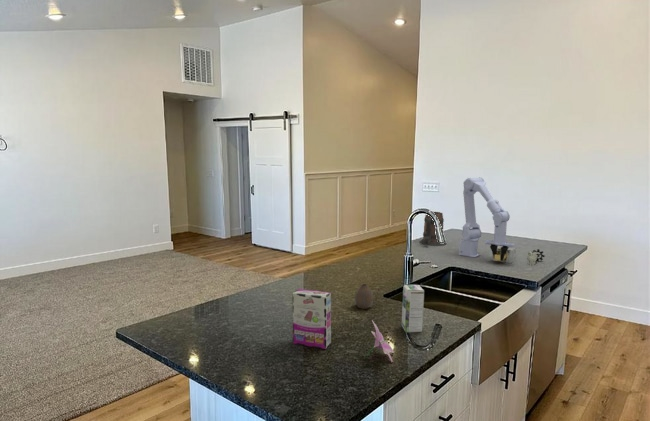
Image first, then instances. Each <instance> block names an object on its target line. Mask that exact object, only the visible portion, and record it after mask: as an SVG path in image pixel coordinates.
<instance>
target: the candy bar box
mask: <svg viewBox="0 0 650 421" xmlns="http://www.w3.org/2000/svg"><path fill="white" fill-rule="evenodd" d="M292 344H293V345H299V346H303V347H304V346H305V347H310V348H316V349H321V350H323V349H324V350H326V349H328V347H329V346H330V345H331V344H332V292H327V291H320V290H310V289H303V288H302V289H301V288H298V289H296V290H295V291H293V293H292Z"/></svg>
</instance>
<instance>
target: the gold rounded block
mask: <svg viewBox="0 0 650 421" xmlns="http://www.w3.org/2000/svg"><path fill="white" fill-rule="evenodd" d="M505 259H506V253H505V256H504V259H503V260H501V251H497V253H496V254H495V257H494V260H497V261H496V262H500V261H504V260H505ZM494 260H493V261H494Z"/></svg>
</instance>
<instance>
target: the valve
mask: <svg viewBox="0 0 650 421" xmlns="http://www.w3.org/2000/svg"><path fill="white" fill-rule="evenodd" d="M543 253H544V251H543V250H541V251H540V249H539V248H538V249H536V250H535V249H534V250H533V251H528V252H527V257H526V258H527V263H526V264H527V265H530V266H536V262H539V261H543V260H544V258H545V257H546V256H545V254H543Z"/></svg>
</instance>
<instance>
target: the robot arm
mask: <svg viewBox="0 0 650 421" xmlns="http://www.w3.org/2000/svg"><path fill="white" fill-rule="evenodd" d="M486 185H487V182H486V181H485V180H484V178H483V177H467V178H466V179H465V180H464V181H463V195H462V196H463V202H464V203H463V204H464V205H463V206H464V214H465V217H464V218H465V224H464V225H463V226H462V231H461V236H462V238H461V239H460V241H459V249H458V250H459V252H458V255H459V256H464V257H465V256H466V257H469V258H476V257H479V256H481V254H480V253H478V248H479V240H480V238H481V237H482V234H483V232H482V230H481V227H480V224H479V223H477V216H476V204H475V194H476V193H479V194H480V195H481V196H482V197H483V199H484V200H485V201H486V202H487V203H486V207H487V208H488V209H489V212H490V213H491V215H492V220H493V224H494V231H493V232H494V233H493V240H487V239H486V240H484V244H485V245H490V246H489V248H490V250H491V254H492V253H493V257H495V254H496V253H497V247H498V246H503V247H501V260H503V259H504V256H505V253H506V251H507V250H508V248H509V247H510V248H515V245H516V244H515V243H510V242H506V240H507V239H506V238H507V223H508V221H509V220H510V218H511V216H510V214H509V212H508V211H507V210H505V209H504V208H503V207H502V206H501V205H500V203H499V200H497V199H494V198H493V196H492V194H491V192H490V190H489V189H488V187H487V186H486Z"/></svg>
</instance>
